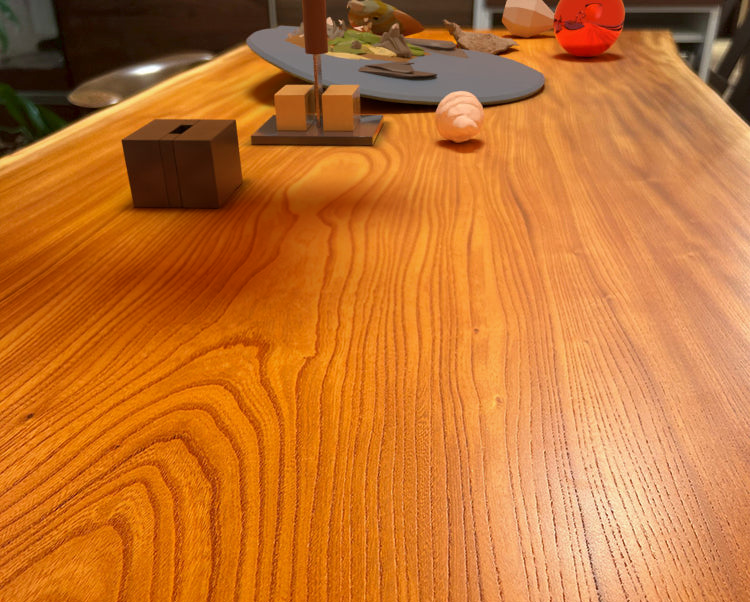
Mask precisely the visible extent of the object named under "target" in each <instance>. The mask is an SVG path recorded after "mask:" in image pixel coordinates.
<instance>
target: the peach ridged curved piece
mask: <svg viewBox="0 0 750 602" xmlns="http://www.w3.org/2000/svg"><path fill="white" fill-rule="evenodd" d="M485 117H486V116H485V112H484V107H483V105H481V103H480V102H479V101H478V99H477V98H476V97H475V96H474V95H473V94H471V93H469V92H466V91H458V92H453V93H450V94H448V95H447V96H446V97H445V98H444V99H443V100H442V101H441V102H440V104H439V105H437V108H436V110H435V113H434V121H435V127H436V130H437V133H438V134H439V135H440V136H441V137H442V138H443V139H445V140H448V141H450V140H451V141H453V142H454V143H456V144H457V143H464V142H467V141H469V140H471V139H472V138H473V137H475V136H476V135H478V134H479V133H480V131H481V130H482V127H483V125H484V121H485Z"/></svg>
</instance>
